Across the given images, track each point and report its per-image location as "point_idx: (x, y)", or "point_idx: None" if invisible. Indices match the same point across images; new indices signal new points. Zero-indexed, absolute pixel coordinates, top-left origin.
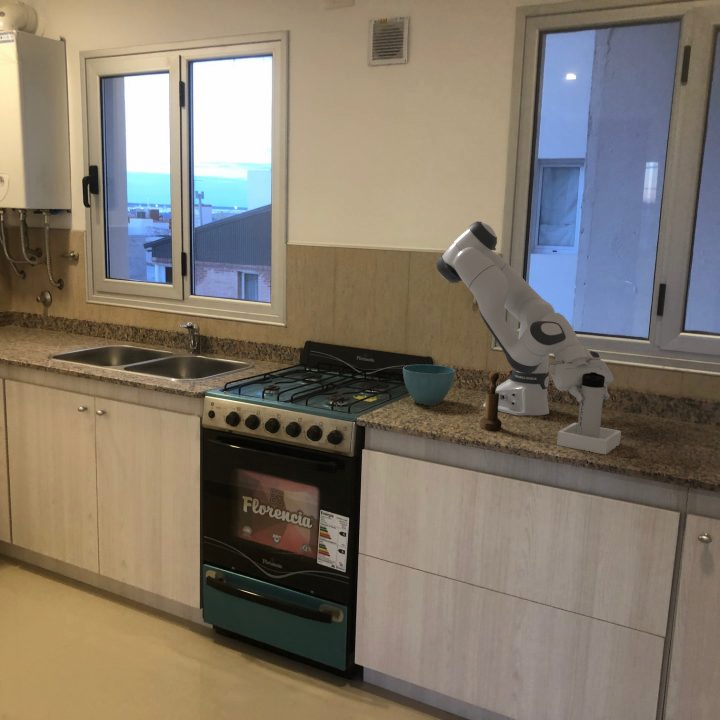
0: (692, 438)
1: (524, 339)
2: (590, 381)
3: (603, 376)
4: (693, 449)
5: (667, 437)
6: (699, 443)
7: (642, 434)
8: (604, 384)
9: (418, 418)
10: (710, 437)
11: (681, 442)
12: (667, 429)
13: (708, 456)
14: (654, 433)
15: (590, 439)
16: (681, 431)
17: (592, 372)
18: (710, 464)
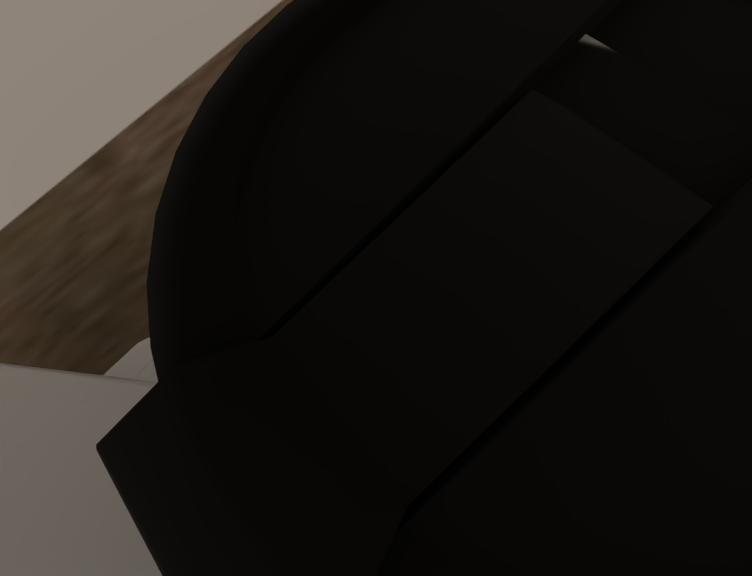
0: (63, 236)
1: None
2: None
3: (248, 76)
4: (164, 150)
5: (111, 274)
6: (95, 190)
7: (145, 337)
8: (144, 367)
9: None
10: (15, 225)
11: (127, 216)
12: (28, 344)
13: (191, 86)
14: (102, 328)
15: None
16: (18, 307)
17: (255, 557)
18: (256, 29)
